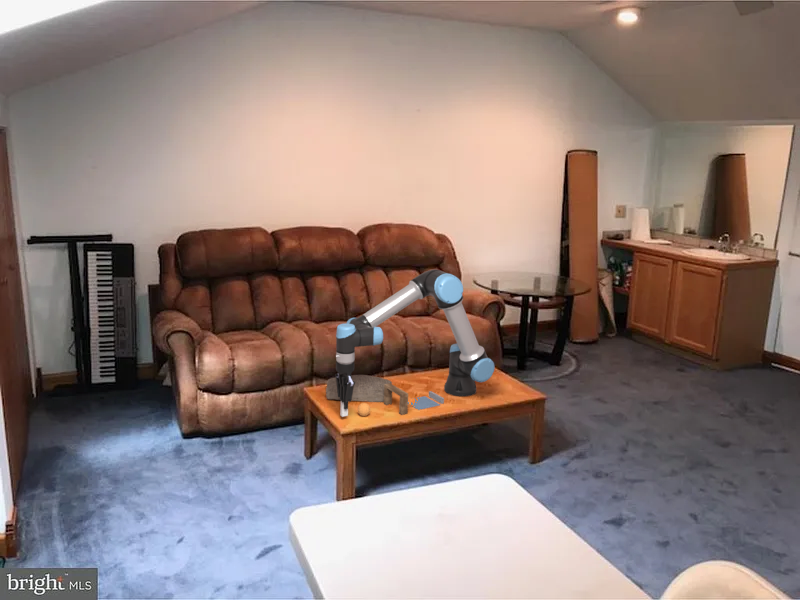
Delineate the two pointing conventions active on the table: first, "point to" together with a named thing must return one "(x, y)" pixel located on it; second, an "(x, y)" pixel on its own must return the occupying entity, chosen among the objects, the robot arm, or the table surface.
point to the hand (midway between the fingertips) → (344, 415)
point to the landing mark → (424, 403)
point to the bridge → (403, 395)
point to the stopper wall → (436, 397)
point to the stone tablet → (361, 388)
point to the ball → (363, 409)
